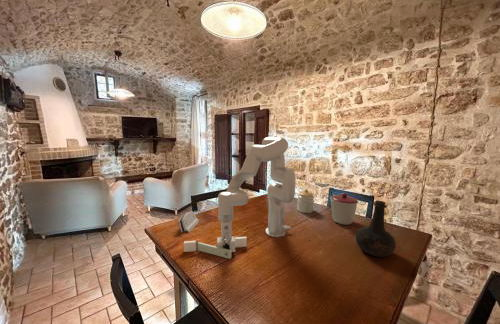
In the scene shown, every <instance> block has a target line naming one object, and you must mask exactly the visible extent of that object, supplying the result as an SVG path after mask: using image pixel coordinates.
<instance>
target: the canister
mask: <svg viewBox="0 0 500 324" xmlns="http://www.w3.org/2000/svg"><path fill="white" fill-rule="evenodd" d="M359 202H360V201H359V199H357V198H355V197H353V196H350V195H348V193H346V192H342V193H341V194H334V195H332V196H330V203H331V218H332V220H333V221H334V222H335V223H337V224H339V225H345V226H348V225H351V224H352V223H354V220H355V215H356V213H357V212H356V211H357V207H358V204H359Z"/></svg>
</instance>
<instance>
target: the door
mask: <svg viewBox="0 0 500 324" xmlns="http://www.w3.org/2000/svg"><path fill="white" fill-rule="evenodd" d="M196 251H199V252H203V253H207V254H211V255H215V256H218V257H221V258H225V259H228V260H231V259H232V252H231V250H229V249H225V248H221V247H217V245H214V244H213V245H212V244H208V243H204V242H201V241H198V240H196Z"/></svg>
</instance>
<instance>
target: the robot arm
mask: <svg viewBox="0 0 500 324" xmlns="http://www.w3.org/2000/svg"><path fill="white" fill-rule="evenodd" d="M288 148H289V143H288V140H286V138H284V137H273V136H272V137H271V136H267V137H265V138H263V139H262V141H261V144H253V145H251V146H250V148H249V150H248V153H247V155H246V157H245V159H244V162H243V164H242V166H241V169H239V171H238V172H236V173H235V174H234V176H233V177H231V179H230V182H229V184H228V186H227V189H226V190H225V191H222V192H221V191H220V192H219V193H218V195H217V205H218V207H217V208H218V210H217V211H218V215H217V216H218V219H217V220H218V221H219V222H220V233H221V237H222V240H224V245H223V248H225V249H229V250H230V244H229V240H232V236H233V233H232V231H233V230H232V227H233V225H232V221H233V220H234V207H238V206H239V207H241V206H245V205H246V204H248V203H249V199H250V197H249V194H248V193H247V192H245V191H244V190H241V189H240V187H241V186H242V184H243V183H244V182H245V181H246V180H248V179H251V178H254V177H255V176H256V175H257V173H258V171H259V168H260V166H261V163H262V162H263V163H264V162H265V163H269V162H270V172H269V173H270V179H271V180H272V181H274V182H272V183H271V184H269V185H268V187H267V192H266V193H267V197H268V198H267V199H268V213H267V214H268V217H267V218H268V221H267V227H266V228H265V233H266V235H267V236H270V237H272V238H282V237H284V236H285V235H286V231H290V230H292V228H291V226H288V225H287V224H286V225H284V223H285V222H284V221H285V220H284V217H285V204H290V203H292V202H293V200H294V199H295V195H296V179H297V178H296V172H295V171H294V170H293V169H292V168H290V167H286V157H285V153H286V152H287V150H288ZM224 238H225V239H224Z"/></svg>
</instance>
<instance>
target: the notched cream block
mask: <svg viewBox="0 0 500 324" xmlns="http://www.w3.org/2000/svg"><path fill="white" fill-rule="evenodd" d="M234 238H235V249H236V248H244V247H245V248H247V246H248V245H247V240H248V239H247V236H234ZM196 241H197V240H187V241H185V240H184V241H183V252H184V253H188V252H196V251H197V250H196Z"/></svg>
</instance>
